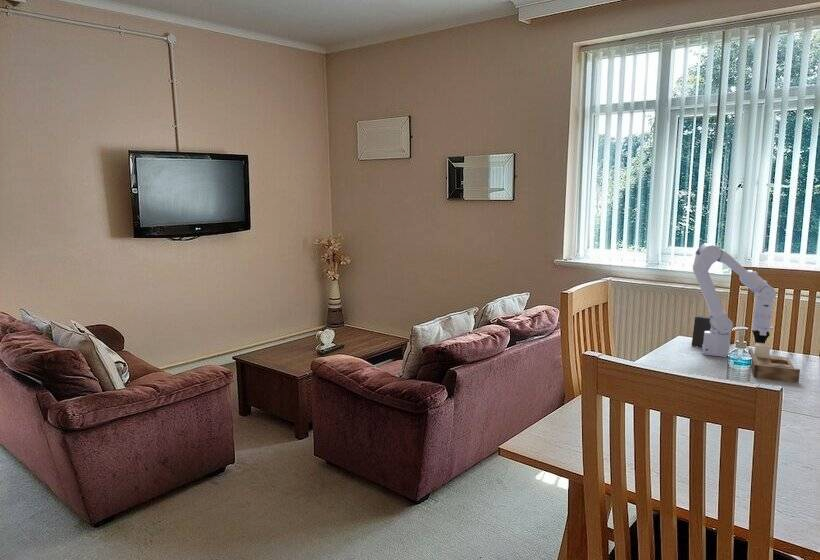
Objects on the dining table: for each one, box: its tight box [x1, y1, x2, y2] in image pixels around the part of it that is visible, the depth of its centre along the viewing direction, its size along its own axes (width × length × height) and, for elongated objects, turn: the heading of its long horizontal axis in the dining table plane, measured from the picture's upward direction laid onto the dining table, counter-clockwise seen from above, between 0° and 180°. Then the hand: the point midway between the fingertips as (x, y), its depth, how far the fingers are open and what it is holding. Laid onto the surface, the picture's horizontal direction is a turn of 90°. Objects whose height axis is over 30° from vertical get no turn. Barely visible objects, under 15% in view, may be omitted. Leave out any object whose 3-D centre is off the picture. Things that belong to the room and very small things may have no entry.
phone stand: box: [691, 315, 712, 348], centre depth 238 cm, size 9×6×12 cm, turn 145°
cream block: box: [754, 342, 771, 358], centre depth 216 cm, size 4×4×4 cm
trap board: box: [747, 347, 801, 383], centre depth 206 cm, size 13×25×4 cm, turn 154°
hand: (759, 349), depth 222 cm, fingers closed
